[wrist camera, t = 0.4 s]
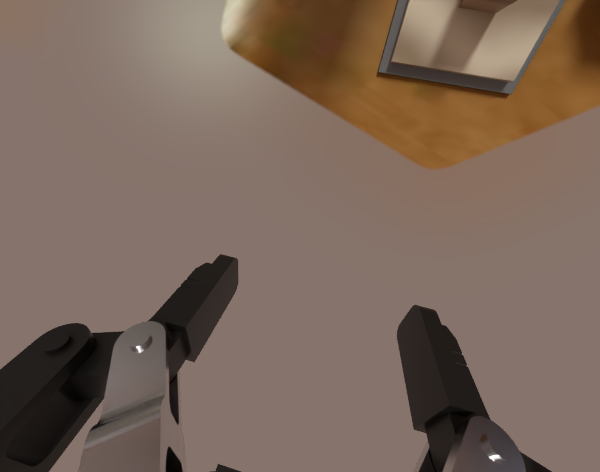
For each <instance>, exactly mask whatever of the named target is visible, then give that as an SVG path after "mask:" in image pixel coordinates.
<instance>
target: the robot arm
mask: <svg viewBox="0 0 600 472" xmlns="http://www.w3.org/2000/svg"><path fill="white" fill-rule="evenodd" d="M237 285H238V260H237V258H233V257H229V256H226V255H219V256H218V257H217V259H216V260H215V261H214V262H213V263H212V264H210V263H205V264H203V265H201V266H200V267H198V268H196V269H195V270H194V271H193V272H192V273H191V274H190V276H189V277H188V278H187V280H185V281H184V282H183V283H182V284H181V287H179V288H178V289H177V290H176V291H175V292H174V293H173V295H172V296H171V297H170V298H169V299H168V300H167V301H166V302H165V304H164V305H163V306H162V307H161V308H160V309H159V310H158V311H157V313H156V314H155V315H154V316H153V317H152V318H151V319H150V320H148V321H147V322H142V323H139V324H136V325H134V326H132V327H130V328H129V329H127V330H126V331H122V332H104V333H91V332H90V330H89V329H88V328H87V326H85V325H83V324H79V323H72V324H66V325H62V326H59V327H57V328H55V329H52V330H50V331H48V332H46V333H45V334H43V335H42V336H40V337H39V338H38V339H37V340H35V341H34V342H33V343H32V344H31V345H29V346H28V347H27V348H26V349H25V350H23V351H22V352H21V353H20V354H19V355H17V356H16V357H15V358H14V359H13V360H11V361H10V362H9V363H8V364H7V365H5V366H4V367H3V368H2V369H1V370H0V472H49V471H50V469H51V468H52V466H53V465H54V464H55V463H56V461H57V460H58V459H59V457H60V456H61V455H62V453H63V452H64V451H65V449H66V448H67V446H68V445H69V444H70V443H71V441H72V440H73V439H74V437H75V436H76V435H77V433H78V432H79V431H80V429H81V428H82V427H83V425H84V424H85V423H86V421H87V420H88V419H89V417H90V416H91V415H92V413H93V412H94V411H95V409H96V408H97V407H98V405H99V404H100V403H101V402H102V400H103V399H104V402H103V408H102V413H101V417H100V420H99V422H98V424H96V425H95V426H93V427H92V428H91V430H90V431H89V433H88V435H87V438H86V440H85V444H84V447H83V452H82V457H81V461H80V466H79V471H78V472H186V460H185V446H184V438H183V432H182V424H181V401H180V378H179V369H180V368H181V366H182V364H183V363H184V361H185V360H189V361H193V362H195V360H196V359H197V356H198V355H199V354H200V352H201V350H202V348H203V346H204V345H205V343H206V342H207V340H208V338H209V336H210V335H211V333H212V331H213V330H214V328H215V326H216V325H217V323H218V321H219V319H220V318H221V316H222V314H223V312H224V311H225V309H226V307H227V306H228V304H229V302H230V301H231V299H232V297H233V295H234V294H235V292H236V289H237ZM397 340H398V345H399V350H400V356H401V362H402V367H403V373H404V378H405V383H406V389H407V394H408V400H409V405H410V411H411V416H412V421H413V427H414V430H417V431H421V432H424V433H426V434H427V438H428V443H427V444H426V445H425V446H424V449H423V451H422V453H421V455H420V457H419V459H418V462H417V464H416V467H415V468H414V471H413V472H551V471H550V470H548V469H546V468H545V467H543V466H542V465H540V464H539V463H537V462H535V461H534V460H532V459H531V458H529V457H527V456H526V455H524V454H523V453H521V452H520V451H519V450H518V448H517V446H516V445H515V443H514V442H513V440H512V439H511V438H510V437H509V435H508V434H507V433H506V432H505V431H504V430H503V429H502V428H501V427H499V426H498V425H497V424H496V423H494V422H493V421H491V419H490V418H489V415H488V413H487V411H486V409H485V406H484V404H483V402H482V399H481V397H480V394H479V392H478V390H477V387H476V385H475V383H474V380H473V378H472V376H471V373H470V371H469V369H468V367H467V366H466V365H467V364H466V361H465V359H464V356H463V355H462V352H461V349H460V347H459V345H458V342H457V340H456V338H455V337H454V336H453V334H452V333H451V332H450V331H449V329H448V328H447V327H446V326H444V325H441V322H440V319H439V317H438V314H437V313H436V311H435V310H433V309H429V308H425V307H421V306H418V305H414V306H413V307H412V308H411V309H410V311H409V312H408V313H407V315H406V316H405V318H404V319H403V320H402V322H401V323H400V325H399V327H398V331H397ZM212 472H240V471H237V470H234V469H231V468H229V467H226V466H223V465H219V464H218V466H217V468H216V471H212Z"/></svg>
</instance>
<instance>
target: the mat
mask: <svg viewBox="0 0 600 472" xmlns="http://www.w3.org/2000/svg"><path fill="white" fill-rule="evenodd" d="M408 1H409V0H398V2H397V6H396V10H395V13H394V17H393V20H392V24H391V28H390V31H389V35H388V38H387V42H386V45H385V49H384V53H383V56H382V60H381V63H380V67H379V71H378V72H380V73H386V74H392V75H398V76H404V77H410V78H416V79H422V80H428V81H434V82H440V83H446V84H452V85H458V86H464V87H470V88H476V89H482V90H488V91H494V92H499V93H505V94H512V93H513V91H514V89H515V87H516V86H517V84H518V82H519V80H520V79H521V77H522V75H523V73H524V72H525V70H526V68H527V67H528V65H529V63H530V61H531V60H532V58H533V56H534V54H535V53H536V51H537V49H538V48H539V46H540V44H541V42H542V41H543V39H544V37H545V35H546V34H547V32H548V30H549V29H550V27H551V25H552V23H553V22H554V20H555V18H556V16H557V15H558V13H559V11H560V10H561V8H562V6H563V4H564V3H565V1H566V0H560V1H559V3H558V4H557V6H556V8H555V10H554V11H553V13H552V15H551V17H550V18H549V20H548V22H547V24H546V26H545V27H544V29H543V31H542V33H541V34H540V36H539V38H538V40H537V41H536V43H535V45H534V47H533V48H532V50H531V52H530V54H529V55H528V57H527V59H526V61H525V63H524V64H523V66H522V68H521V70H520V71H519V73H518V75H517V77H516V78H515V80H514V81H511V82H506V81H500V80H494V79H488V78H482V77H476V76H469V75H463V74H457V73H451V72H445V71H439V70H433V69H427V68H420V67H414V66H408V65H402V64H396V63H390V61H391V58H392V54H393V51H394V48H395V44H396V41H397V38H398V34H399V31H400V28H401V24H402V21H403V17H404V14H405V11H406V7H407V4H408Z"/></svg>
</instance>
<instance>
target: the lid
mask: <svg viewBox="0 0 600 472" xmlns="http://www.w3.org/2000/svg"><path fill="white" fill-rule="evenodd" d="M559 1H560V0H409V1H408V4H407V7H406V11H405V14H404V17H403V21H402V24H401V28H400V31H399V34H398V38H397V41H396V44H395V48H394V51H393V54H392V58H391V61H390V63H396V64H402V65H408V66H414V67H420V68H427V69H433V70H439V71H445V72H451V73H457V74H463V75H469V76H476V77H482V78H488V79H494V80H500V81H506V82H511V81H514V80H515V78H516V77H517V75H518V73H519V71H520V70H521V68H522V66H523V64H524V63H525V61H526V59H527V57H528V55H529V54H530V52H531V50H532V48H533V47H534V45H535V43H536V41H537V40H538V38H539V36H540V34H541V33H542V31H543V29H544V27H545V26H546V24H547V22H548V20H549V18H550V17H551V15H552V13H553V11H554V10H555V8H556V6H557V4H558V3H559Z"/></svg>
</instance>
